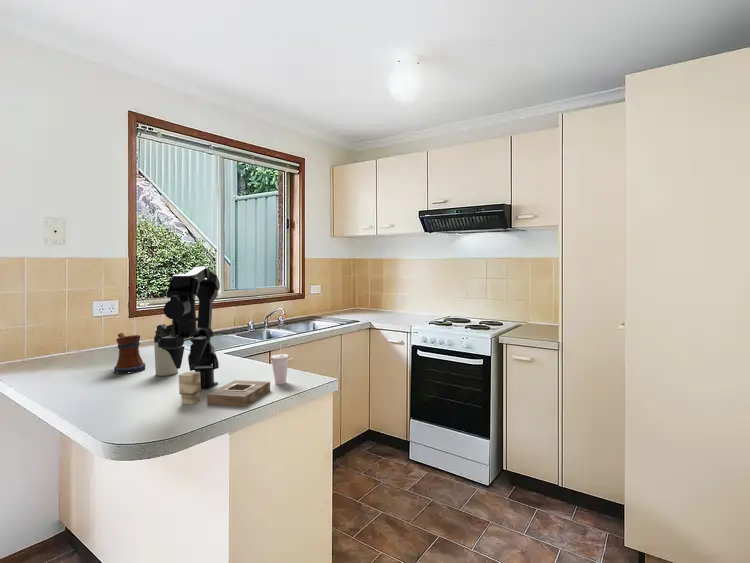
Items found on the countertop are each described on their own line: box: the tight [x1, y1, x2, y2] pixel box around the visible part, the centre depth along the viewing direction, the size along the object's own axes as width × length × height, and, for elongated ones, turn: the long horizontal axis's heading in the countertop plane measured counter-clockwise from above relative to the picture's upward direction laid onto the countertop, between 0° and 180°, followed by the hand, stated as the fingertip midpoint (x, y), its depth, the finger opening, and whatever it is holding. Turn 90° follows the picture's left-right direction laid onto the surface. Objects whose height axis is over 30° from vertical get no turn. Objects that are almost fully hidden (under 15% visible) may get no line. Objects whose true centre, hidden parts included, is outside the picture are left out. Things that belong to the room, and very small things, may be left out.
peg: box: [178, 371, 202, 405], centre depth 135 cm, size 4×4×9 cm
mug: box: [113, 332, 146, 374], centre depth 179 cm, size 18×12×15 cm, turn 43°
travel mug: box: [153, 328, 179, 377], centre depth 170 cm, size 8×8×18 cm
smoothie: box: [270, 343, 290, 385], centre depth 154 cm, size 6×6×14 cm
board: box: [206, 379, 271, 407], centre depth 139 cm, size 16×13×3 cm
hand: (188, 364), depth 134 cm, fingers open, 9 cm apart
